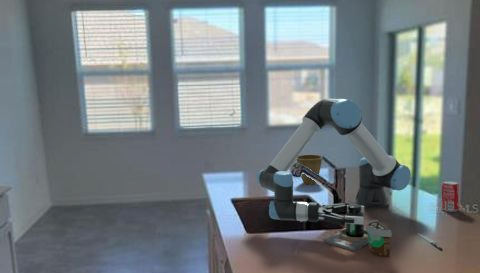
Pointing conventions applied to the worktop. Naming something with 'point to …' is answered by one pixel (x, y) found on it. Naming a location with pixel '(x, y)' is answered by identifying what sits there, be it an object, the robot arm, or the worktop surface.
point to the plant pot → (310, 166)
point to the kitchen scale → (348, 240)
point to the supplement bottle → (354, 229)
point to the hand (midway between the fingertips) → (364, 214)
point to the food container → (378, 239)
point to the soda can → (450, 196)
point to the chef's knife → (430, 241)
